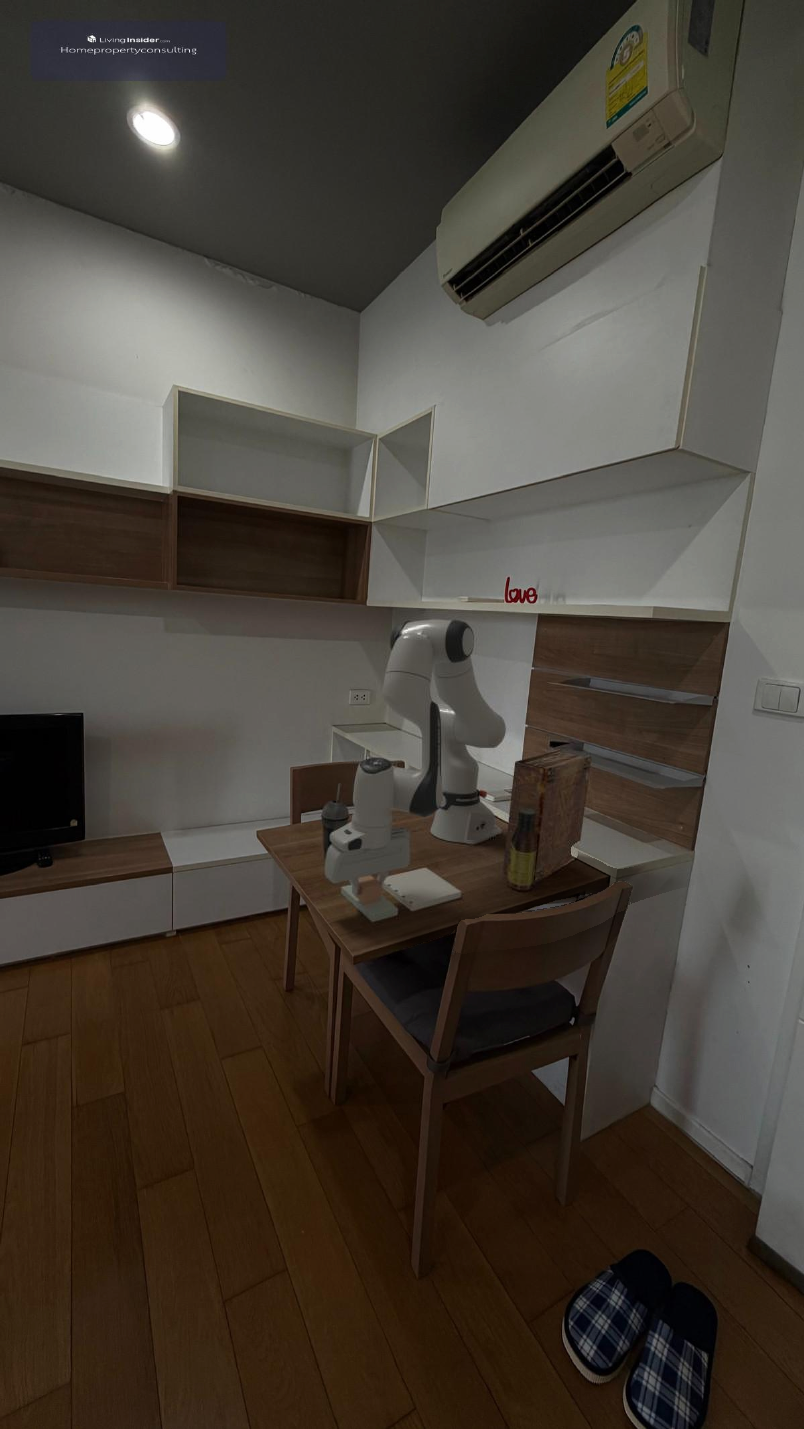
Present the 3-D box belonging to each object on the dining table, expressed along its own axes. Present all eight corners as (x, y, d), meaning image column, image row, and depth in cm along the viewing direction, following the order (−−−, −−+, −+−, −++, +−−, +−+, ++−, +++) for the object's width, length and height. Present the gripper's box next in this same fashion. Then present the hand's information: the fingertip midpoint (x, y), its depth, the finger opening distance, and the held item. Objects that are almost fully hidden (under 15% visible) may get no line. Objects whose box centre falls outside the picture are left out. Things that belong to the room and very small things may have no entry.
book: (548, 848, 168) (561, 748, 163) (578, 858, 162) (592, 755, 157) (502, 872, 149) (514, 761, 144) (533, 885, 143) (548, 770, 138)
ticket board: (425, 873, 146) (425, 867, 145) (460, 897, 134) (461, 891, 134) (378, 884, 138) (378, 878, 137) (411, 911, 126) (412, 904, 126)
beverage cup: (313, 858, 149) (316, 785, 146) (329, 849, 155) (333, 778, 152) (336, 866, 146) (340, 790, 142) (352, 856, 152) (356, 784, 149)
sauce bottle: (514, 877, 147) (522, 803, 143) (536, 886, 143) (545, 810, 139) (501, 886, 142) (509, 809, 138) (524, 895, 138) (533, 816, 134)
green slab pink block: (364, 887, 136) (366, 865, 135) (397, 915, 124) (399, 891, 123) (340, 893, 132) (342, 870, 131) (372, 922, 121) (373, 898, 120)
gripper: (402, 821, 133) (398, 876, 136) (323, 835, 122) (319, 895, 124) (418, 830, 128) (413, 887, 131) (336, 846, 117) (333, 908, 119)
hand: (367, 891), depth 127 cm, fingers closed on green slab pink block, 4 cm apart
